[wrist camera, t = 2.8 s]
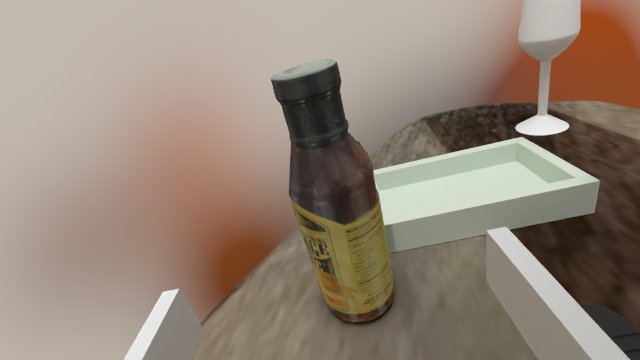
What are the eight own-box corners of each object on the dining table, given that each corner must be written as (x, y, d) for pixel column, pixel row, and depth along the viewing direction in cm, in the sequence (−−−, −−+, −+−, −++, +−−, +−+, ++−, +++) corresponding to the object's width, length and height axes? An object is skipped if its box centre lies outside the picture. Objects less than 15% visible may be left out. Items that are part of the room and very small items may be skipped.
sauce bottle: (320, 284, 30) (249, 76, 22) (380, 263, 31) (335, 51, 22) (337, 343, 24) (250, 89, 16) (412, 315, 25) (367, 54, 16)
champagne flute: (574, 119, 47) (597, -78, 37) (562, 136, 43) (584, -76, 33) (523, 117, 52) (530, -56, 41) (508, 133, 48) (512, -53, 38)
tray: (520, 162, 40) (522, 136, 39) (594, 212, 30) (600, 180, 28) (367, 195, 42) (362, 172, 41) (384, 254, 32) (379, 226, 30)
